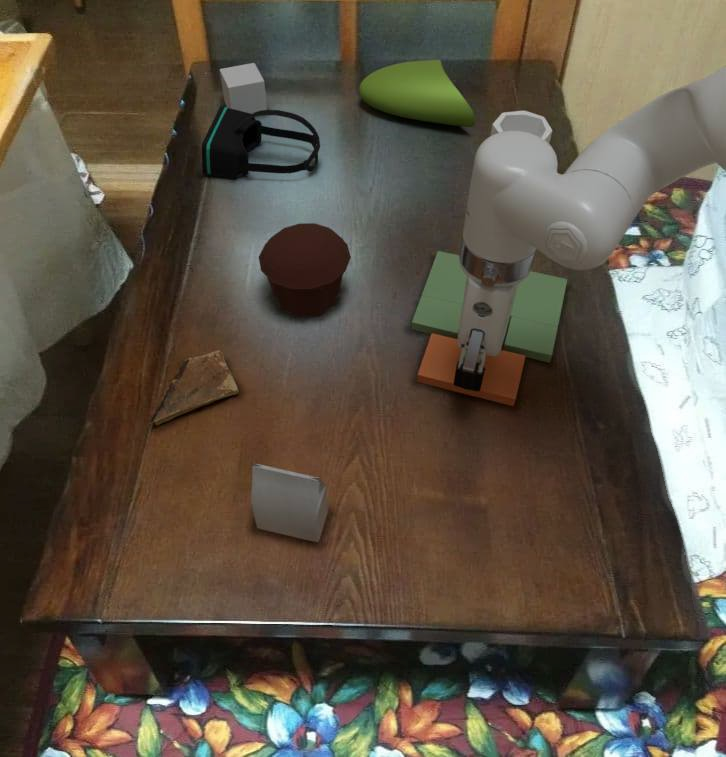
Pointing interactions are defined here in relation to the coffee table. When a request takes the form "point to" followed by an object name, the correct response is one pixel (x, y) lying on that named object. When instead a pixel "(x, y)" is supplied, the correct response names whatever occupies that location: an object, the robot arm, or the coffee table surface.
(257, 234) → the coffee table surface
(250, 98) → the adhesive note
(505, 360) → the tab pad
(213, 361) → the shard
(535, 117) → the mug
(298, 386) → the coffee table surface
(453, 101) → the green curved wedge
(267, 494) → the grey piece
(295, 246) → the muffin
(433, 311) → the notch pad
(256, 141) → the virtual reality headset
